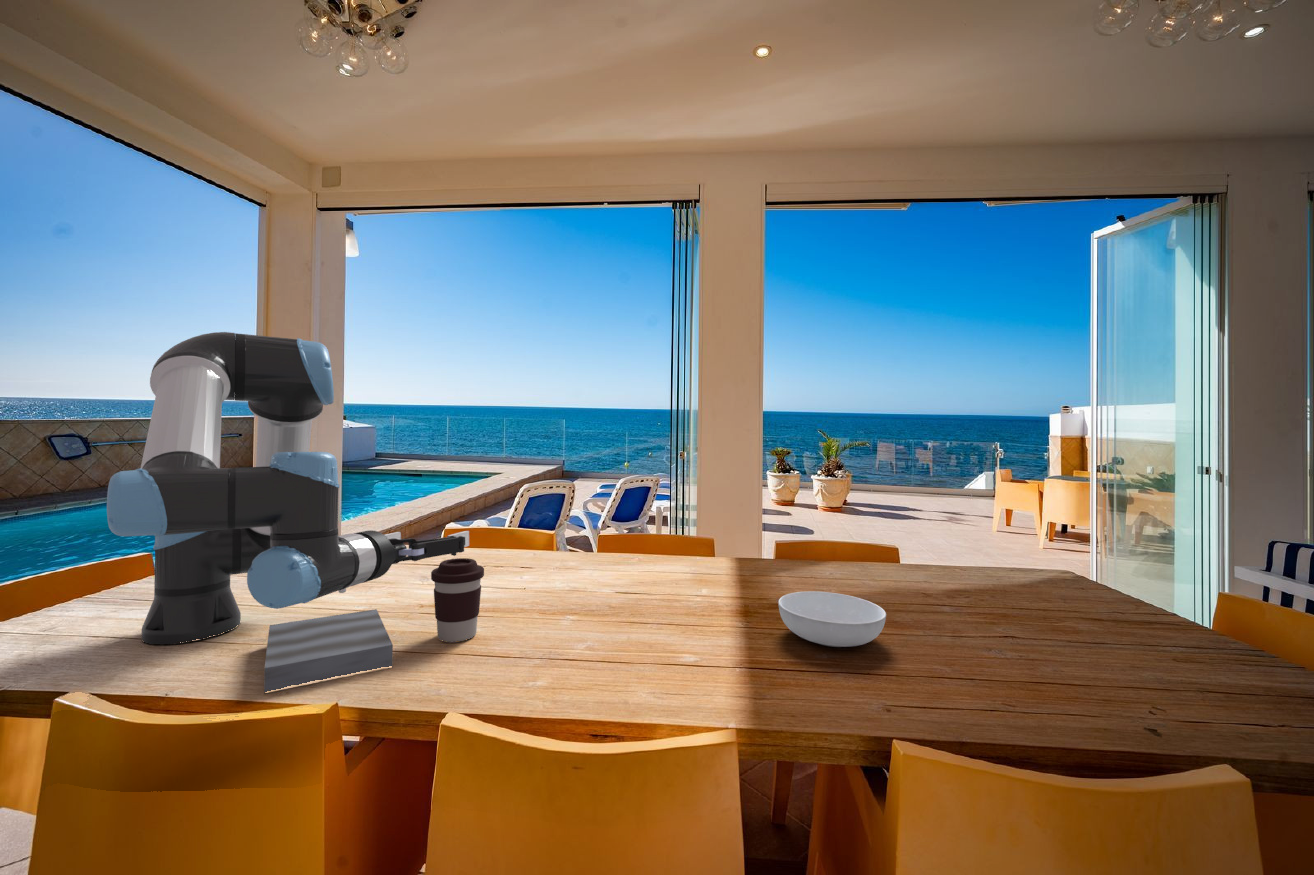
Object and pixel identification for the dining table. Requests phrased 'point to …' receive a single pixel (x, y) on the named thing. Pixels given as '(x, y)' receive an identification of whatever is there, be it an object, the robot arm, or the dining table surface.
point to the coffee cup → (457, 598)
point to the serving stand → (325, 648)
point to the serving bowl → (831, 618)
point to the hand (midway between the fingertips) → (432, 538)
